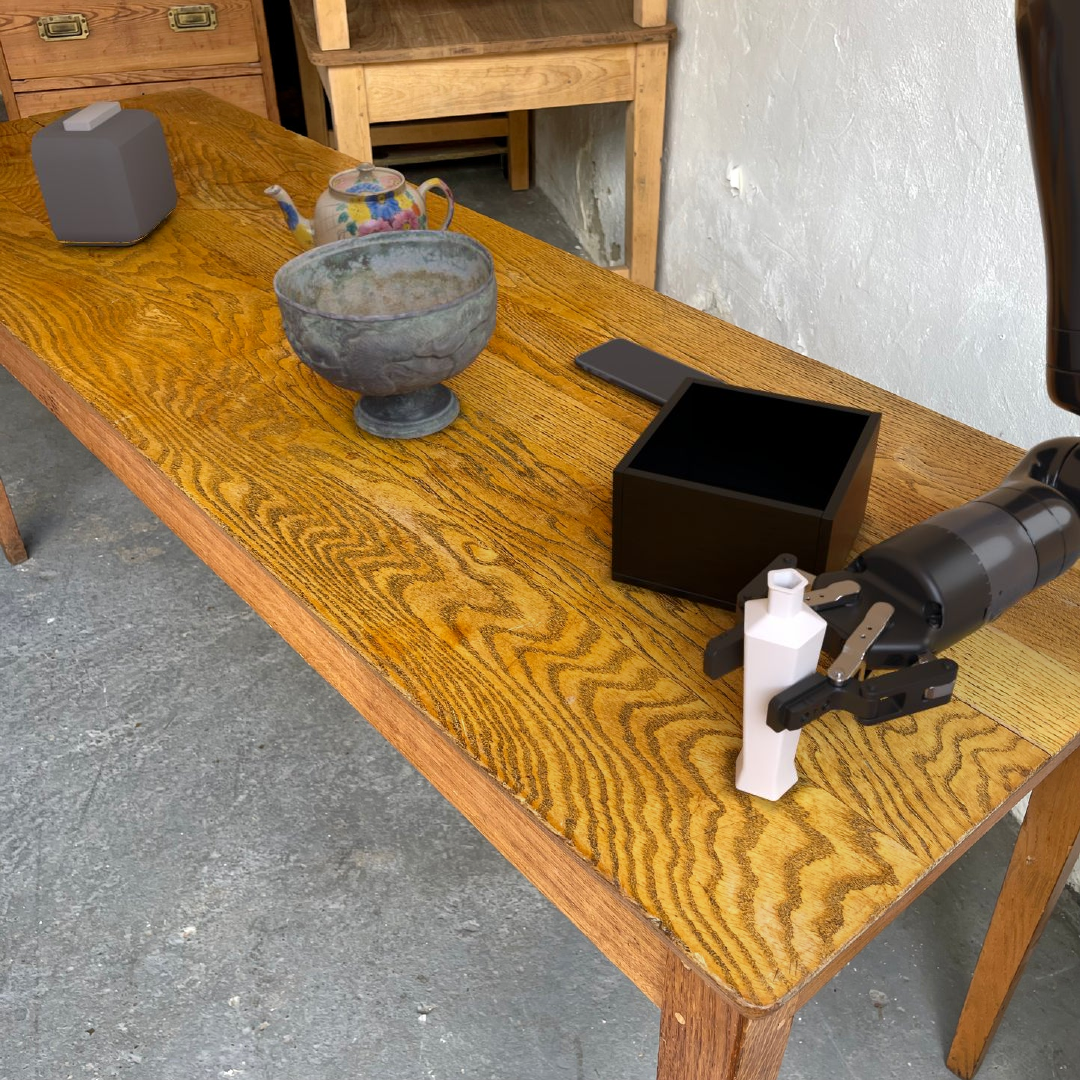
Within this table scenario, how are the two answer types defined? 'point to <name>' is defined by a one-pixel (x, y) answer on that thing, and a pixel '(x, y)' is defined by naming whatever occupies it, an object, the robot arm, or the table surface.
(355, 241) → the bowl
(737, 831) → the table surface
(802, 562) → the open box
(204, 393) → the table surface
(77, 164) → the alarm clock
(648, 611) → the table surface
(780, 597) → the perfume bottle
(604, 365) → the smartphone
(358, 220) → the teapot
